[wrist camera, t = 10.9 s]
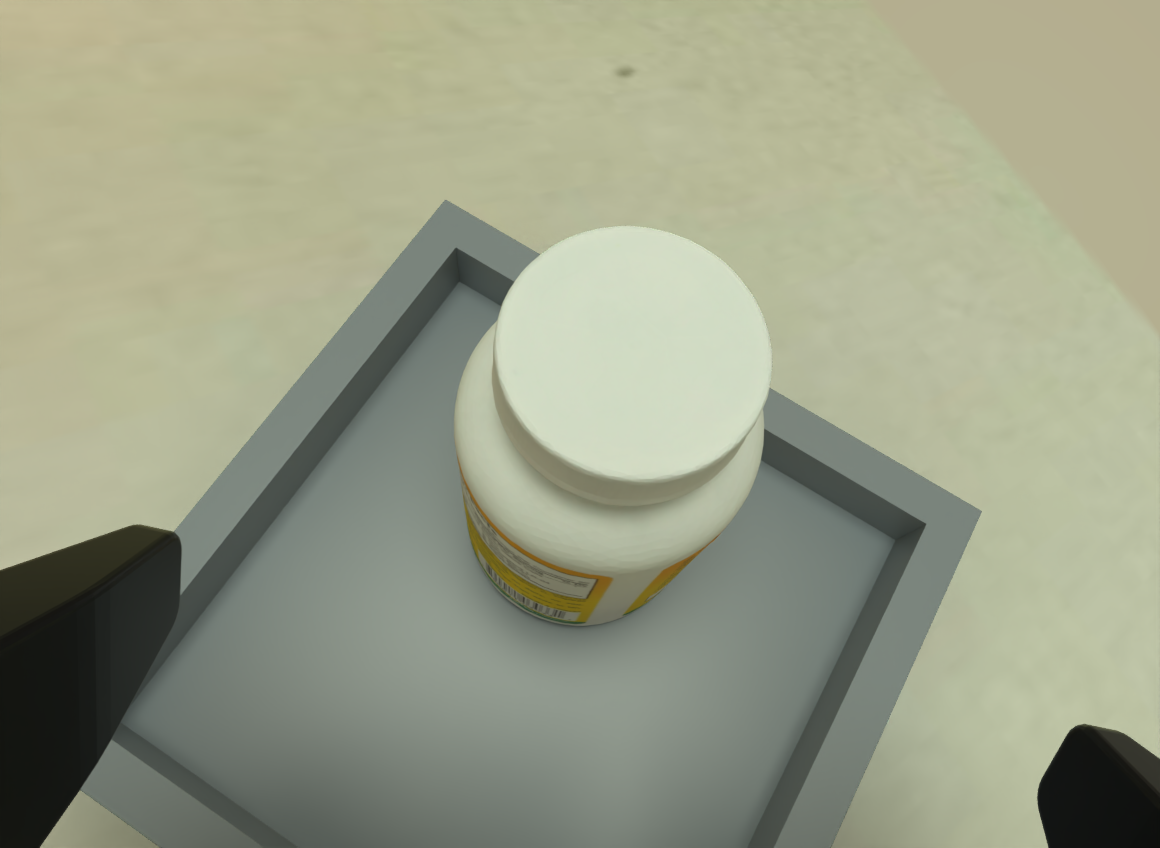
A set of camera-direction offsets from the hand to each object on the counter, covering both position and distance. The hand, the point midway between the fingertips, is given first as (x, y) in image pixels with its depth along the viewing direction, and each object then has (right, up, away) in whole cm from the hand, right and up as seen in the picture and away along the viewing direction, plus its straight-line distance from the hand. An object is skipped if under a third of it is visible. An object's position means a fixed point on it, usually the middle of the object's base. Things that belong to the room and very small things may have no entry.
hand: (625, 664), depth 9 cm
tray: (-2, -3, +12) cm, 13 cm away
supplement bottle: (-1, 0, +13) cm, 13 cm away
